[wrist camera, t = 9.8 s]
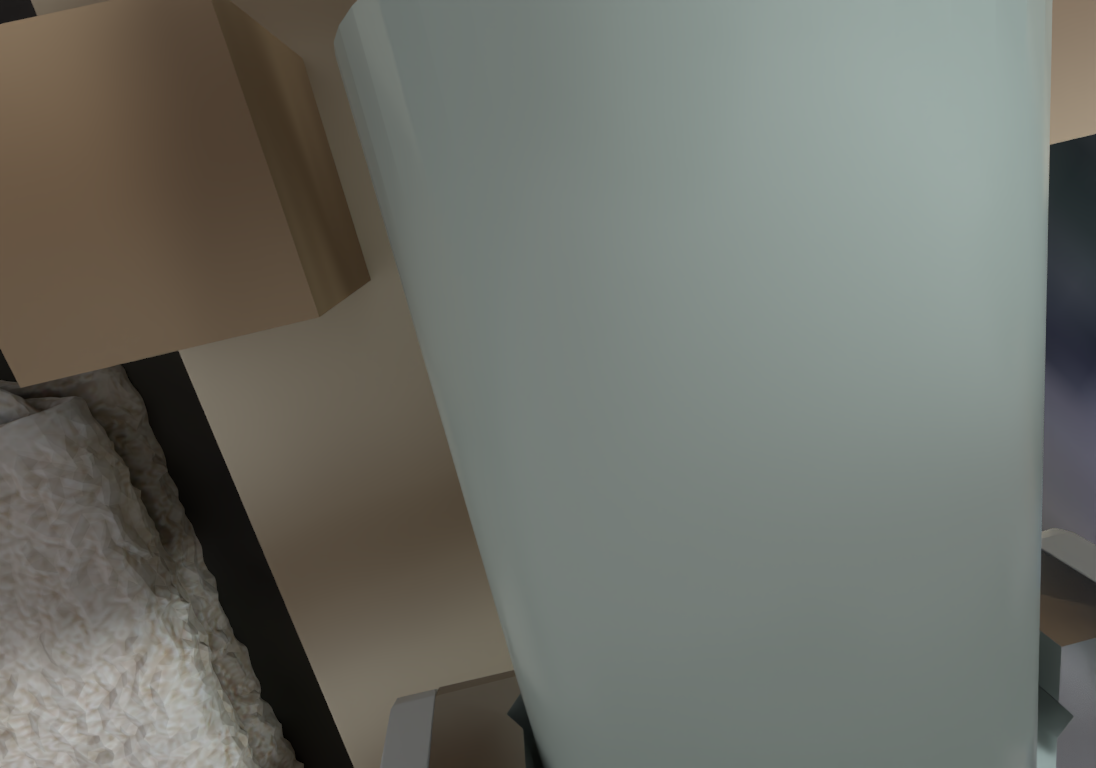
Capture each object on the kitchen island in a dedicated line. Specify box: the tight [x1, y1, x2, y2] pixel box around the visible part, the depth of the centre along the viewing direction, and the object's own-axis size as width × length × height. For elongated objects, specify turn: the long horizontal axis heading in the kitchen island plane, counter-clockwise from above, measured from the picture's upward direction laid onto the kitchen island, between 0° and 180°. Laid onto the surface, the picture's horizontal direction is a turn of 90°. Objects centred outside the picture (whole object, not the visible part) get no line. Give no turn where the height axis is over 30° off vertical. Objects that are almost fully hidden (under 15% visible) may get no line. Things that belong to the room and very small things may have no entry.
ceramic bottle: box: [334, 0, 1053, 768], centre depth 6 cm, size 18×5×5 cm, turn 12°
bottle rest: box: [0, 0, 1096, 768], centre depth 10 cm, size 24×13×4 cm, turn 12°
